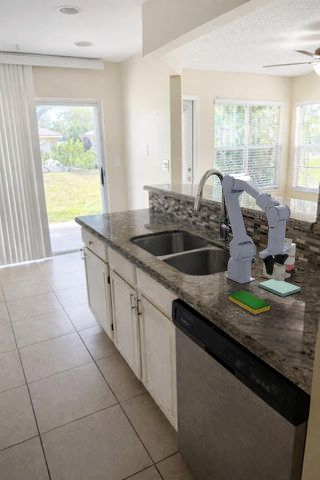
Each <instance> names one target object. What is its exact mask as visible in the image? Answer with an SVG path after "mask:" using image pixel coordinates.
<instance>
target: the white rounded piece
mask: <svg viewBox="0 0 320 480" xmlns="http://www.w3.org/2000/svg"><path fill="white" fill-rule="evenodd" d="M262 267H263V268H262V275H263V276H264V277H266V278H268V279H270V280H271V279H273V280H276V281H284V282H285V279H288V278H291V273H288V272H286V270H285V268H286V266H284V265H281V264H279V263H276V262H275V264H274V268H273V273H272V275H269V274H267V273H266V268H265V264H264V263H263V266H262Z"/></svg>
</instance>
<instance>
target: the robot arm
mask: <svg viewBox="0 0 320 480" xmlns="http://www.w3.org/2000/svg"><path fill="white" fill-rule="evenodd" d="M220 183H221V188H222V192H223V197H224V202H225V205H226V209H227V210H226V211H227V215H228V219H229V223H230V227H231V231H232V237H233V238H232V239H231V241H230V242H229V254H230V257H229V259H228V262H227V275H226V276H225V277H226V278H228V279H229V280H232V281H234V282H237V283H238V284H246V283H249V282H252V281H255V280H256V279H255V278H253V277H252V276H251V275H252V260H253V259H254V257H255V256H256V255H257V246H256V245H255V243H254V241H253V238H252V237H250V236H249V235H248V234H247V229H246V226H245V222H244V217H243V213H242V209H241V205H240V200H239V198H240V196H241V195H243V193H244V192H245V193H247V194H248V195H250V196H251V197H252V198H253V199H254V200H255V204H256V206H257V207H259V208H260V209H261V210H262V212H264V213H265V216H266V218H267V225H268V234H267V235H268V237H267V248H265V249H264V250H262V251H260V252H258V258H260V259H262V261H263V265H264V264H265V268H266V273H267V274H269V275H272V273H273V268H274V264H275V262H276V263H279V264H281V265H284V263H285V261H286V260H287V258H288V257H289V255H288V254H286V252H291V247H288V246H284V242H286V241H285V238H286V228H287V220H289V219H290V217H291V209H290V207H289V206H288V204H285V203H284V204H283V203H281V202H280V201H279V200H276V199H275V198H274V197H273V196H272V193H270V192H263V191H261V189H260V188H258V186H257V185H256V184H254V182H253V181H252V178H251V176H249V175H248V174H247V173H243V172H242V173H237V174H234V173H233V174H225V175H224V177H222V181H221V182H220ZM273 255H274V258H273Z"/></svg>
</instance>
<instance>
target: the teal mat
mask: <svg viewBox="0 0 320 480" xmlns="http://www.w3.org/2000/svg"><path fill="white" fill-rule="evenodd" d="M258 287H260V288H261V289H264V290H265V291H269V292H271V293H274V294H277V295H278V296H281V297H285V296H288V295H291V294H294V293H295V294H296V293H298V292H300V291H301V287H300V286H298V285H294V284H292V283H289V282H286V281H285V280H284V281H276V280H273V279H271V278H270V279H268V280H265V281H261V282H259V283H258Z"/></svg>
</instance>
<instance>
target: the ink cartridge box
mask: <svg viewBox="0 0 320 480" xmlns="http://www.w3.org/2000/svg"><path fill="white" fill-rule="evenodd" d="M284 246H288V247H291V252H286V254H288V255H289V257H288V258H287V260H286V261H285V263H284V266H286V268H285V271H289V272H290V271H292V270H293V269H295V261H296V260H295V259H296V247H297V244H296V243H293V239H292V238H288V237H287V238H286V237H285V241H284ZM272 257H273V258H274V255H273V256H272Z"/></svg>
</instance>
